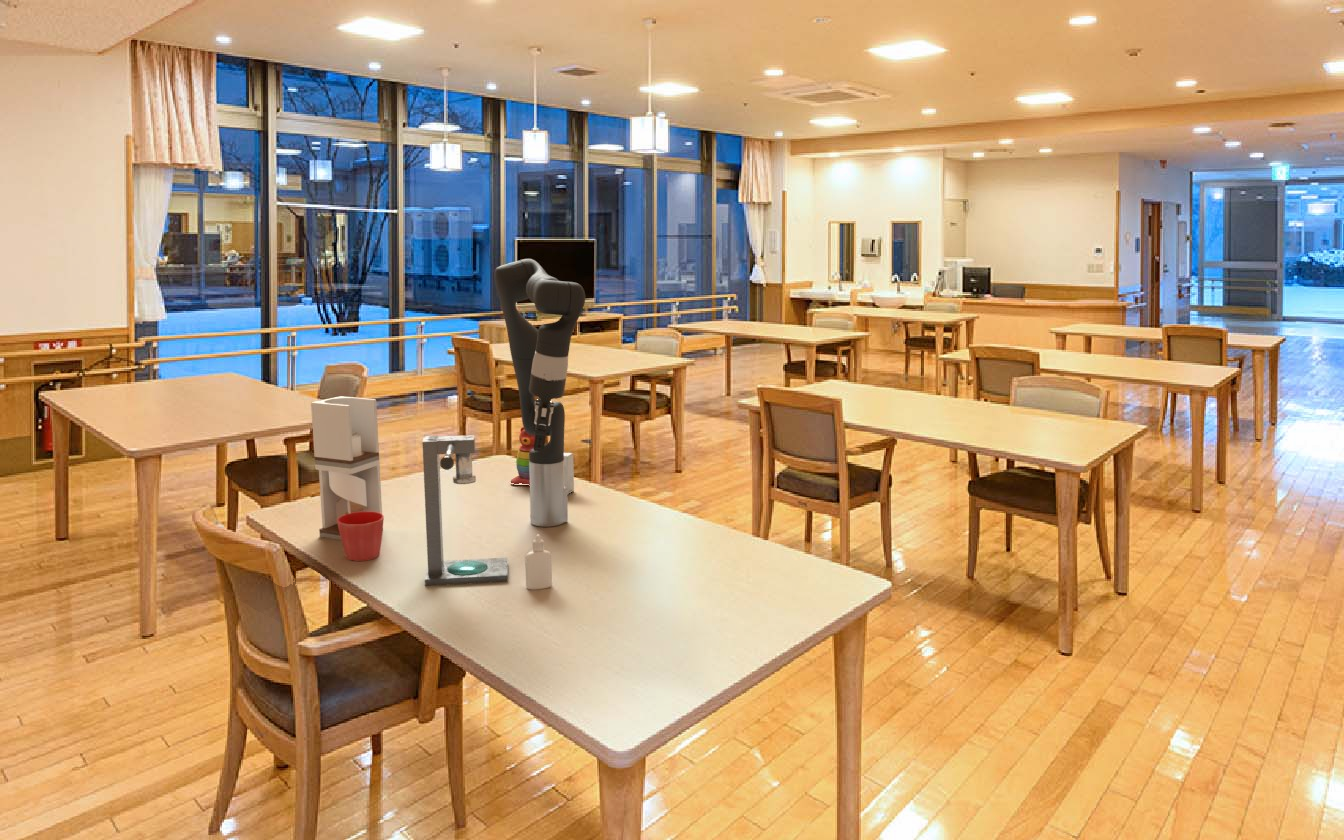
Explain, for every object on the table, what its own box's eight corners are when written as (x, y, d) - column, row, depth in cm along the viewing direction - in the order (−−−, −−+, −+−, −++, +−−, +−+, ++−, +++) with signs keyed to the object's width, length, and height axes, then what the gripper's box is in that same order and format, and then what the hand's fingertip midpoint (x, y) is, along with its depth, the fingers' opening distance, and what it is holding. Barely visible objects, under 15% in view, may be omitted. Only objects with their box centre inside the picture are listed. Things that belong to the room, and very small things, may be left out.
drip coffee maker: (319, 536, 242) (310, 402, 235) (348, 525, 252) (340, 396, 245) (355, 542, 238) (347, 405, 231) (383, 530, 247) (376, 399, 241)
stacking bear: (507, 485, 294) (506, 429, 290) (523, 477, 303) (522, 423, 300) (538, 488, 290) (537, 432, 287) (553, 480, 299) (553, 426, 296)
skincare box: (574, 491, 287) (574, 453, 285) (568, 494, 283) (567, 456, 281) (556, 489, 289) (555, 451, 287) (550, 493, 285) (549, 454, 283)
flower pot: (343, 566, 221) (340, 526, 219) (336, 552, 230) (333, 514, 228) (389, 559, 225) (387, 520, 224) (380, 546, 235) (378, 508, 233)
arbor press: (507, 563, 223) (504, 431, 217) (507, 603, 199) (503, 455, 193) (429, 567, 220) (423, 433, 214) (420, 608, 196) (413, 458, 190)
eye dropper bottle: (529, 582, 211) (528, 531, 209) (553, 584, 210) (553, 532, 208) (523, 589, 207) (522, 537, 205) (548, 591, 206) (547, 538, 204)
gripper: (532, 362, 207) (523, 430, 212) (530, 379, 194) (520, 453, 199) (566, 366, 209) (556, 435, 213) (566, 385, 195) (555, 457, 200)
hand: (539, 443), depth 206 cm, fingers open, 8 cm apart
